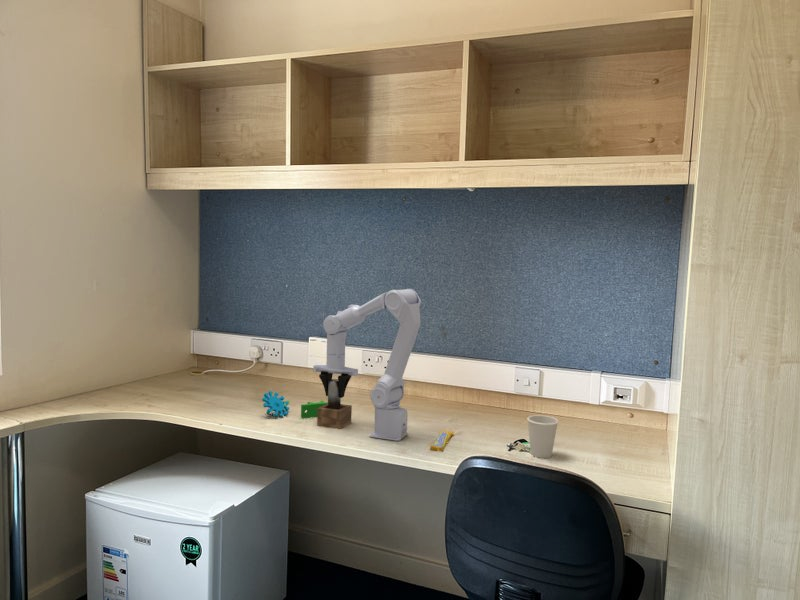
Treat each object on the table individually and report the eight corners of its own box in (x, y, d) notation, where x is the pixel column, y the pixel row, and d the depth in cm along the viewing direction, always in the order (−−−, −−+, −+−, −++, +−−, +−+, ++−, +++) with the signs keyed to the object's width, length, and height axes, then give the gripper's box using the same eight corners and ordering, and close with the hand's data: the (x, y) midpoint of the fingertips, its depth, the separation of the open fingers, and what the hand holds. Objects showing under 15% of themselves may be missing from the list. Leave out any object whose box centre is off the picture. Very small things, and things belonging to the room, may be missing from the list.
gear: (271, 416, 191) (259, 390, 195) (261, 426, 193) (250, 400, 198) (297, 414, 199) (285, 389, 204) (287, 424, 202) (275, 399, 206)
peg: (342, 404, 190) (342, 379, 190) (338, 407, 187) (338, 382, 186) (330, 403, 191) (330, 378, 191) (325, 406, 188) (326, 381, 187)
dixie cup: (526, 458, 163) (528, 422, 162) (524, 448, 171) (526, 414, 171) (558, 461, 162) (560, 424, 161) (555, 451, 170) (556, 416, 169)
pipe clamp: (330, 413, 203) (331, 399, 203) (334, 416, 200) (335, 402, 200) (298, 415, 198) (298, 402, 198) (301, 418, 195) (302, 405, 195)
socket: (351, 422, 192) (351, 405, 192) (340, 429, 185) (340, 411, 184) (328, 419, 195) (328, 402, 194) (317, 425, 187) (317, 408, 187)
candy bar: (443, 454, 166) (443, 447, 166) (428, 452, 167) (428, 445, 167) (454, 436, 182) (454, 430, 182) (440, 434, 183) (441, 428, 183)
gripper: (362, 353, 189) (361, 396, 190) (320, 349, 194) (320, 391, 195) (353, 357, 183) (352, 401, 184) (310, 352, 187) (309, 395, 189)
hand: (334, 396), depth 189 cm, fingers closed on peg, 4 cm apart
